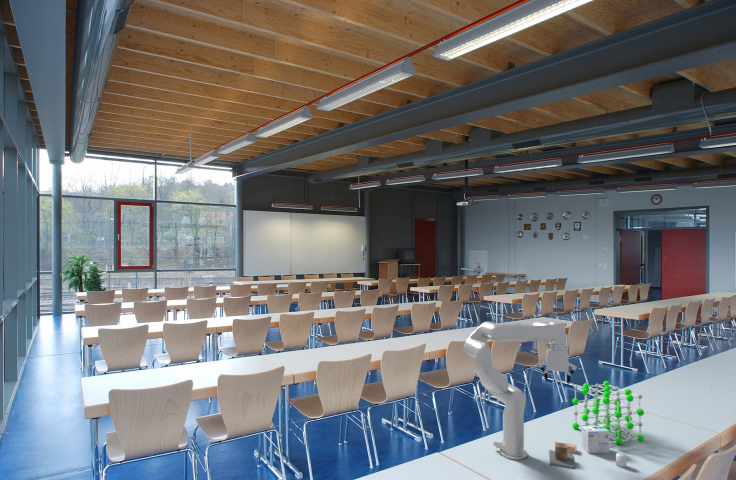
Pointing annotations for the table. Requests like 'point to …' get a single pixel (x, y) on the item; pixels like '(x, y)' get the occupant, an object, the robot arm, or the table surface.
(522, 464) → the table surface
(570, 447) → the peach cube
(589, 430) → the light bulb box
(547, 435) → the table surface
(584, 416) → the molecular structure model
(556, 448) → the walnut block
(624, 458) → the grey plastic cylinder
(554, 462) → the mat
